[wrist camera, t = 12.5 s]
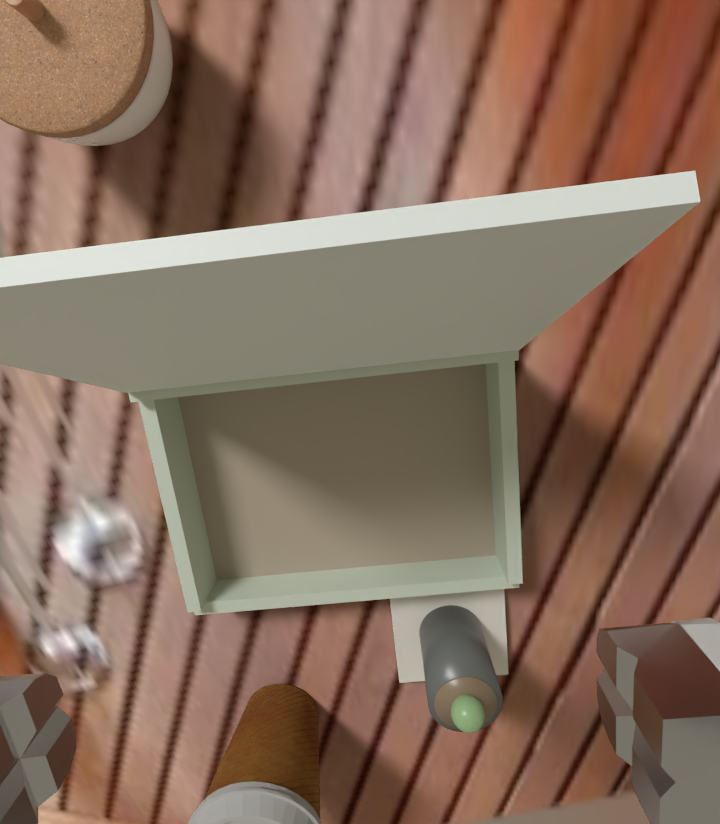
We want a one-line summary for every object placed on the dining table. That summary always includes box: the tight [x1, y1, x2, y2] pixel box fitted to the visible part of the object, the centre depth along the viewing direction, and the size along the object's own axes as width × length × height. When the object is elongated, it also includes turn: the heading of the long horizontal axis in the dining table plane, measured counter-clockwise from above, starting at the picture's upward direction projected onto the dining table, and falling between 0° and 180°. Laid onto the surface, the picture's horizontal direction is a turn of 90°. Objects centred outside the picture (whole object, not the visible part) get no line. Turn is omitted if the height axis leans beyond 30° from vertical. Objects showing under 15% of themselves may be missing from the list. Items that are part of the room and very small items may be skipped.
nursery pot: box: [419, 605, 503, 733], centre depth 37 cm, size 5×5×9 cm
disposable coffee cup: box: [188, 684, 321, 824], centre depth 39 cm, size 10×10×12 cm
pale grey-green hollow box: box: [0, 171, 700, 615], centre depth 27 cm, size 24×25×23 cm
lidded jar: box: [0, 0, 173, 146], centre depth 28 cm, size 11×11×9 cm
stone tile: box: [390, 589, 508, 683], centre depth 42 cm, size 9×9×1 cm
